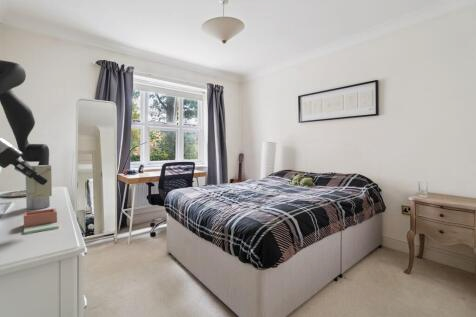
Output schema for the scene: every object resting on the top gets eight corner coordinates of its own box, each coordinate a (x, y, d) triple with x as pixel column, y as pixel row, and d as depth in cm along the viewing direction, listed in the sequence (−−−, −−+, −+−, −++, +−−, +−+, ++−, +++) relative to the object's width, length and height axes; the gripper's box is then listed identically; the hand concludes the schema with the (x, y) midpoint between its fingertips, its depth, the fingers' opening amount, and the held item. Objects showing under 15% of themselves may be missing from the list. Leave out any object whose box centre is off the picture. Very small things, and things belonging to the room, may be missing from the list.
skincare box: (35, 199, 86) (35, 166, 85) (26, 198, 87) (25, 165, 86) (52, 196, 92) (52, 165, 91) (43, 195, 93) (42, 164, 92)
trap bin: (24, 224, 95) (24, 212, 95) (55, 219, 101) (55, 208, 101) (24, 229, 89) (23, 216, 89) (57, 223, 96) (56, 211, 96)
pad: (24, 229, 89) (24, 227, 89) (57, 224, 95) (57, 222, 95) (23, 234, 84) (23, 232, 84) (58, 228, 91) (58, 226, 91)
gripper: (9, 143, 78) (55, 176, 86) (12, 144, 89) (52, 173, 97) (-13, 160, 75) (36, 192, 83) (-8, 158, 86) (35, 187, 94)
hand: (44, 182), depth 90 cm, fingers closed on skincare box, 7 cm apart
